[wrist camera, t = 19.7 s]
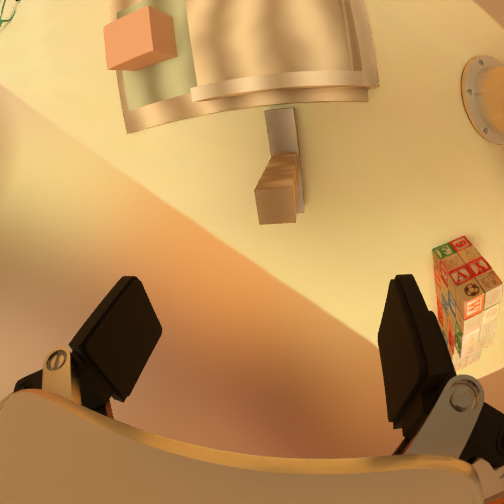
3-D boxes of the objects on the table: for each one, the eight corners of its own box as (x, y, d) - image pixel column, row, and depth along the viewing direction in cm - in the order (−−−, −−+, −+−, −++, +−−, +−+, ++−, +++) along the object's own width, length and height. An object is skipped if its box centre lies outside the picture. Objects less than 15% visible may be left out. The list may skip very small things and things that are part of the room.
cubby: (335, -48, 14) (339, -70, 9) (366, 101, 25) (380, 101, 20) (114, 2, 21) (88, -6, 16) (131, 132, 32) (104, 141, 26)
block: (172, 17, 22) (148, 5, 17) (177, 56, 25) (153, 50, 20) (131, 33, 23) (103, 26, 18) (136, 71, 26) (107, 69, 21)
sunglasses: (18, 18, 19) (0, 19, 15) (-6, 42, 22) (-22, 45, 18) (31, -29, 11) (14, -30, 7) (3, -1, 14) (-11, 0, 10)
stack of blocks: (463, 325, 39) (484, 373, 29) (437, 336, 41) (454, 387, 31) (463, 234, 31) (504, 283, 20) (430, 248, 33) (465, 303, 23)
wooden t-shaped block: (293, 107, 27) (288, 110, 14) (304, 203, 33) (304, 281, 20) (267, 110, 28) (237, 116, 15) (280, 204, 34) (264, 282, 21)
